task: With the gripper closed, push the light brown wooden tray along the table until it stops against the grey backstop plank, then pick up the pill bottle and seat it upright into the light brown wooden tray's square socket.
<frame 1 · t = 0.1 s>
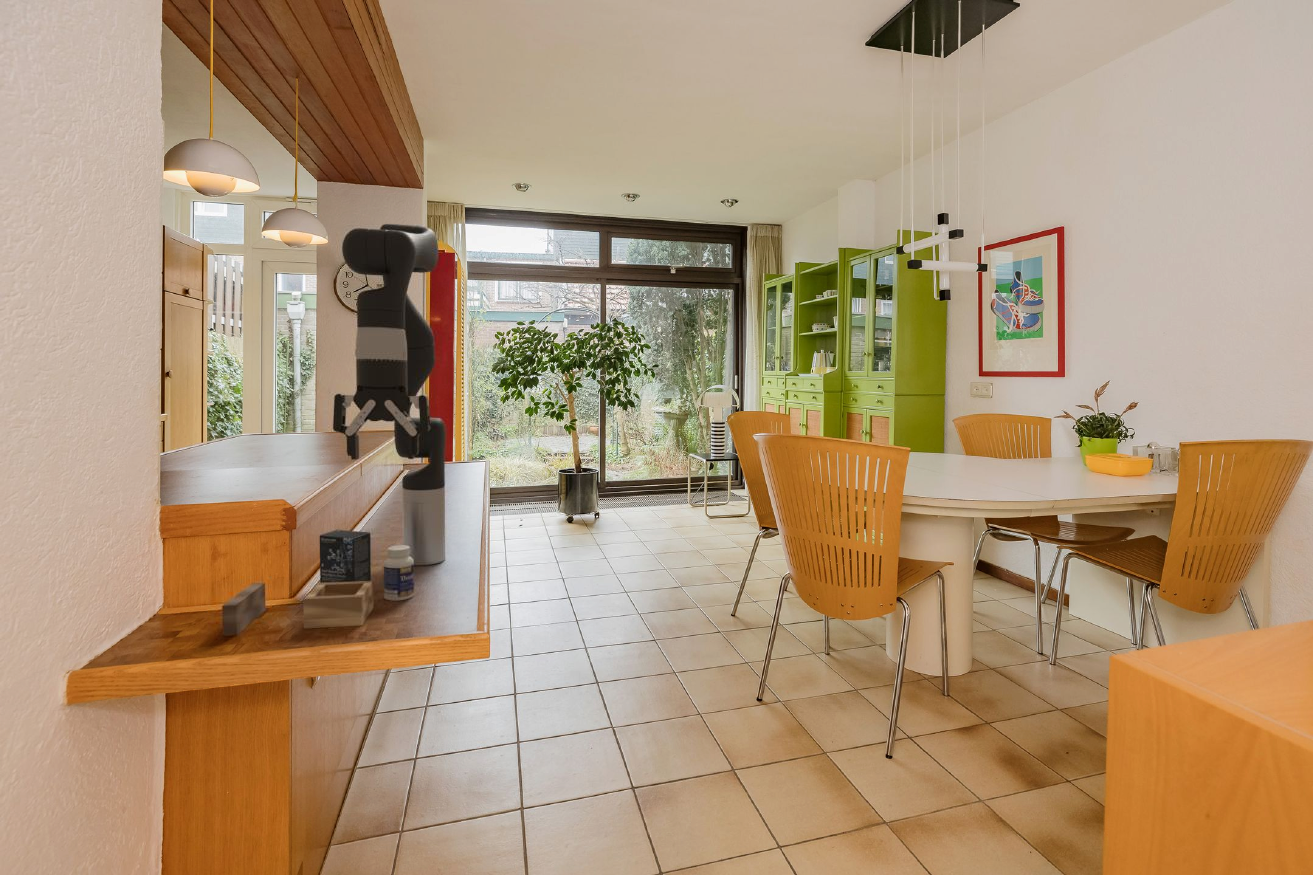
hand: (383, 458, 104), 29 cm above the worktop, fingers open, 8 cm apart
light brown wooden tray: (340, 603, 113), point 3 cm above the worktop, slide at 0.0 cm
box: (346, 585, 132), on the worktop
backstop plank: (245, 622, 110), on the worktop
pill bottle: (399, 597, 124), on the worktop
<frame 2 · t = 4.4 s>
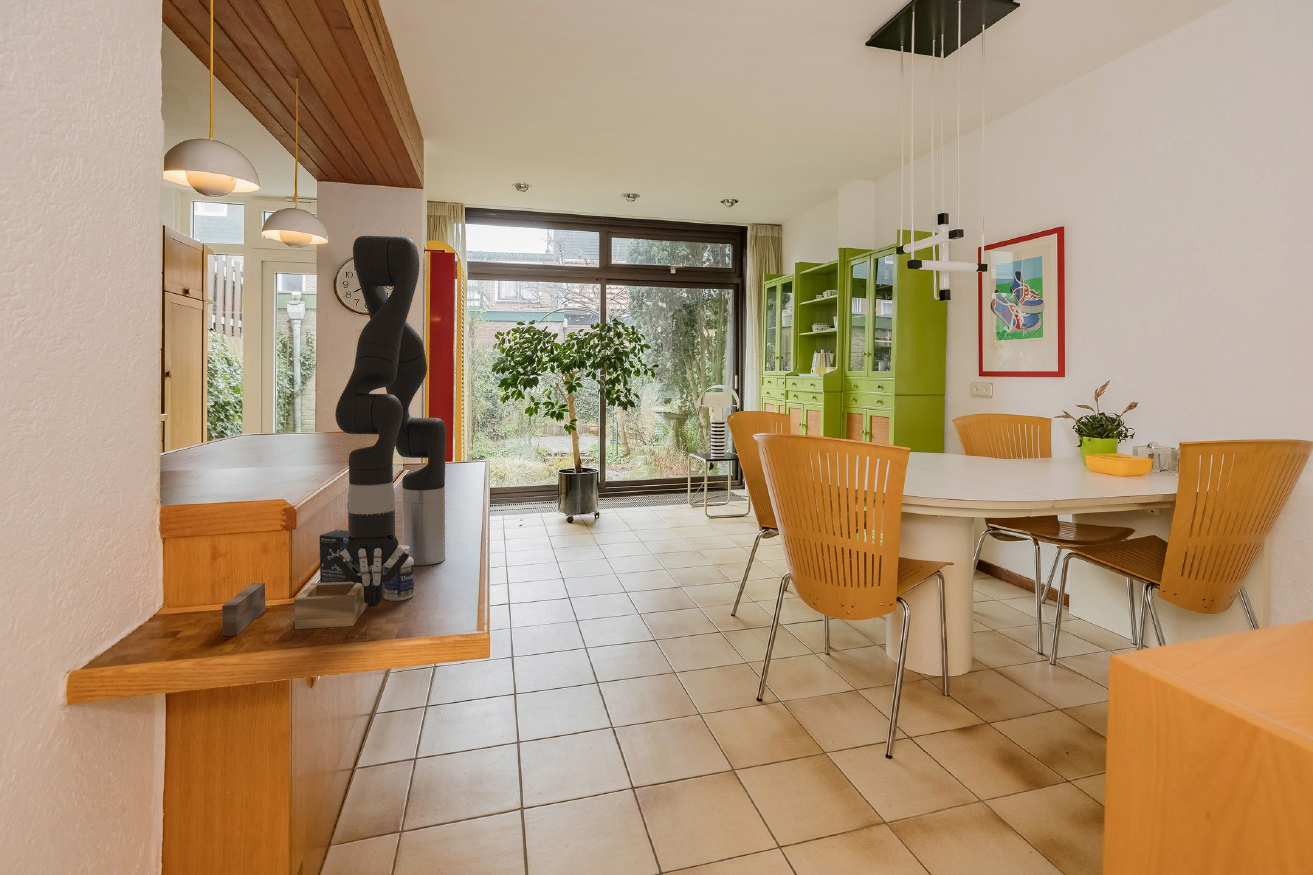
hand: (373, 604, 114), 2 cm above the worktop, fingers closed
light brown wooden tray: (331, 603, 112), point 2 cm above the worktop, slide at 1.4 cm, touching gripper
everything else where it was.
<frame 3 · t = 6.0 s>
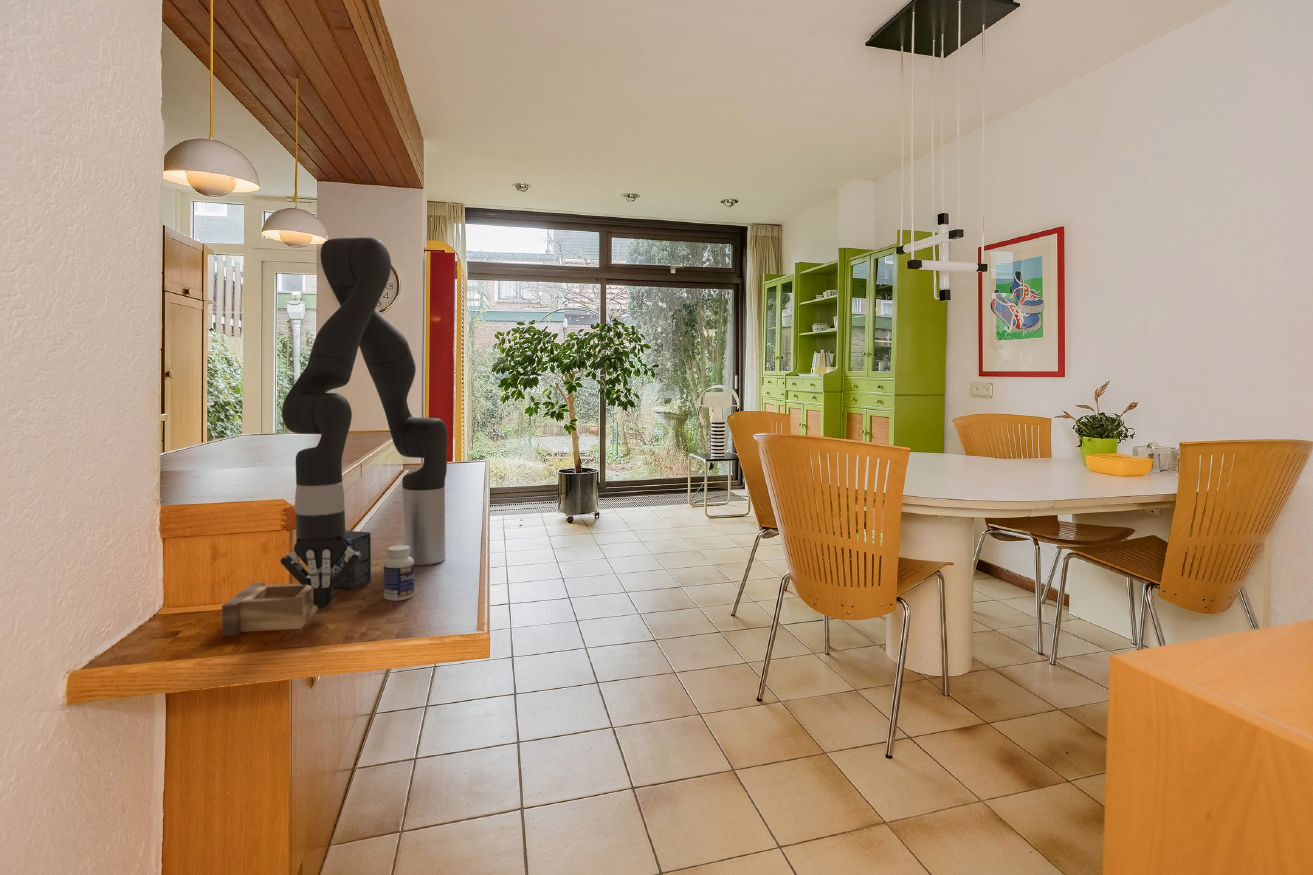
hand: (323, 606, 112), 2 cm above the worktop, fingers closed
light brown wooden tray: (280, 606, 111), point 3 cm above the worktop, slide at 9.5 cm, touching backstop plank, gripper
everything else where it was.
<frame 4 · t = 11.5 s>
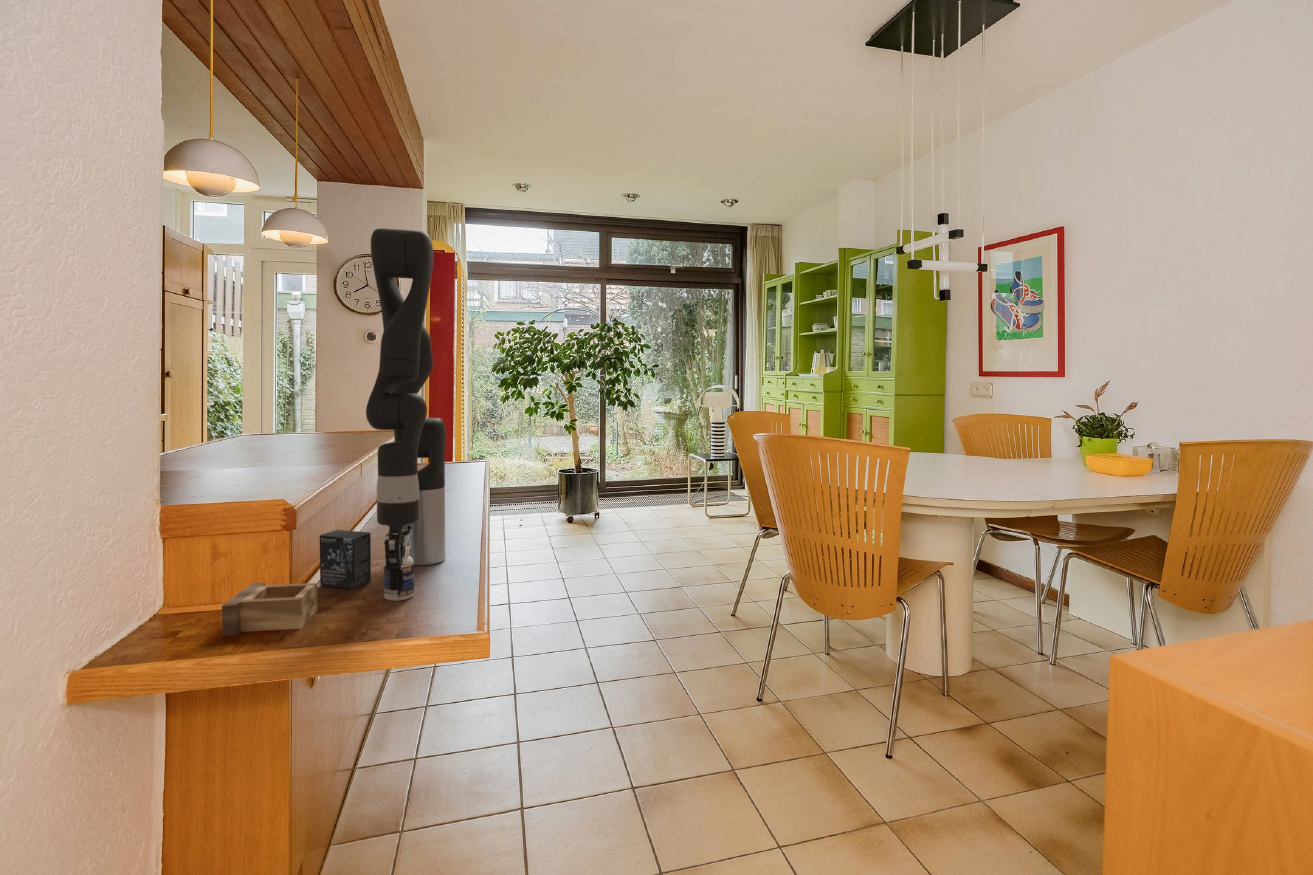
hand: (399, 584, 124), 3 cm above the worktop, fingers closed on pill bottle, 5 cm apart
light brown wooden tray: (280, 606, 111), point 3 cm above the worktop, slide at 9.5 cm, touching backstop plank
pill bottle: (399, 597, 124), on the worktop, touching gripper
everything else where it was.
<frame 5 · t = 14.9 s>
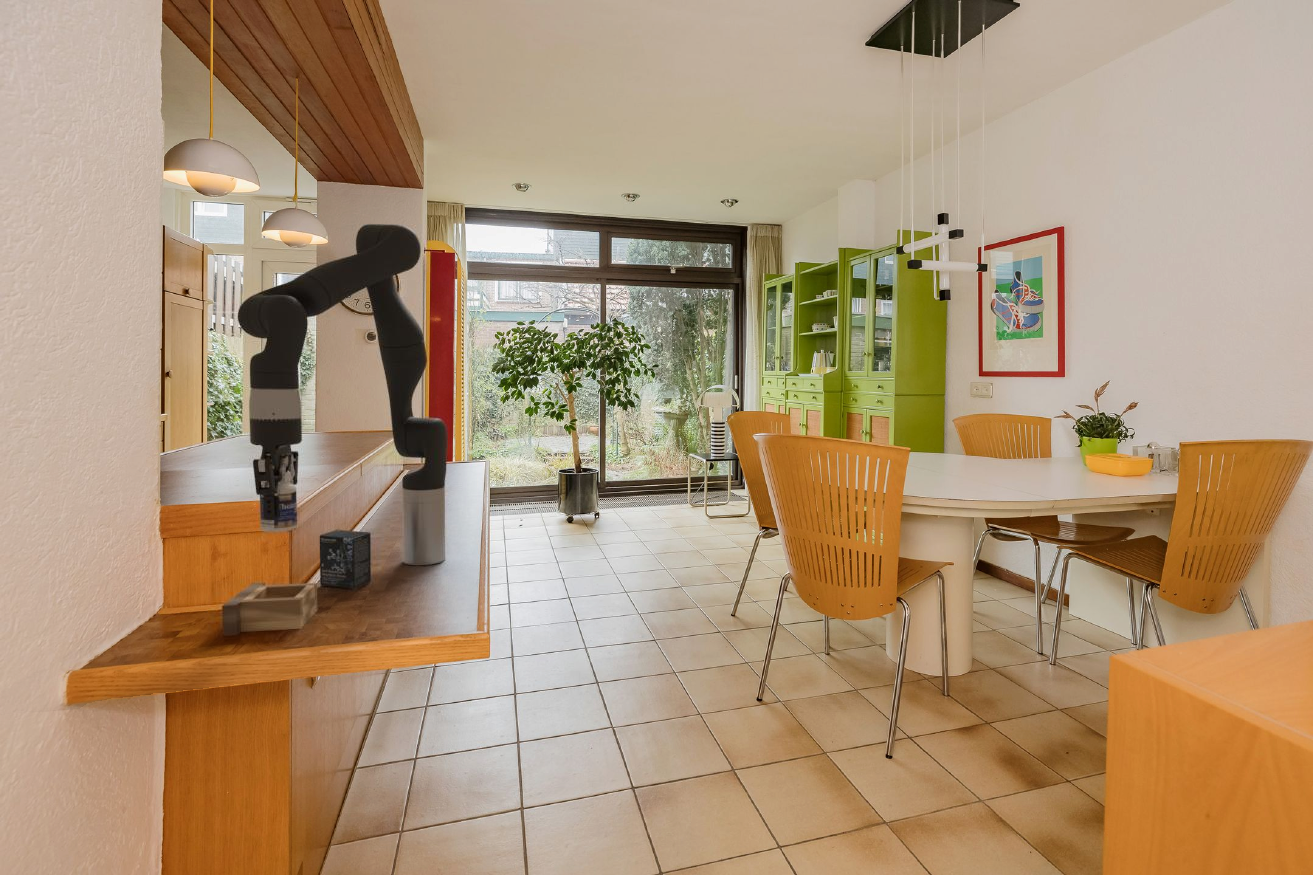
hand: (278, 514, 110), 18 cm above the worktop, fingers closed on pill bottle, 5 cm apart
pill bottle: (279, 530, 110), point 16 cm above the worktop, touching gripper
everything else where it was.
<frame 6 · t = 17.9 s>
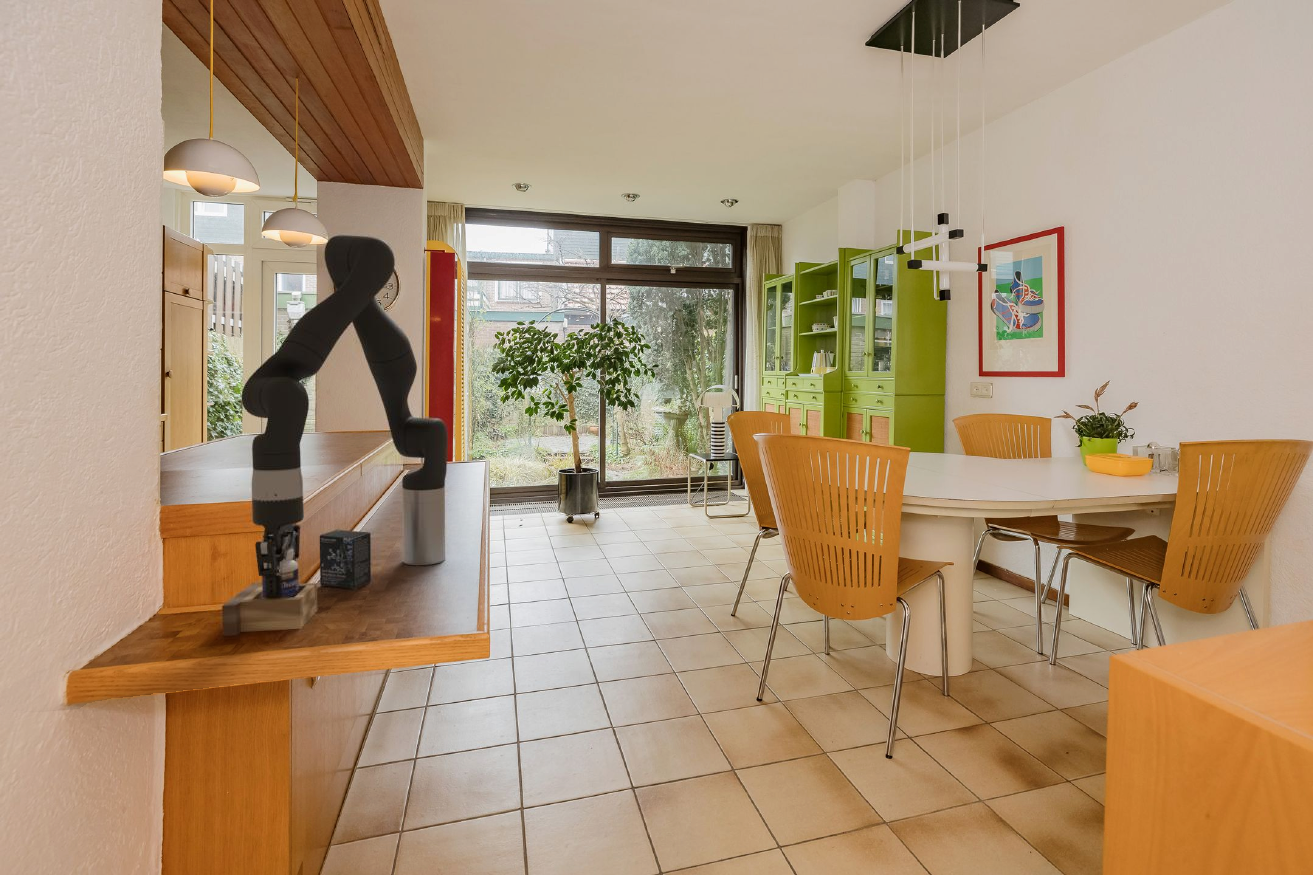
hand: (280, 591, 111), 5 cm above the worktop, fingers closed on pill bottle, 5 cm apart
light brown wooden tray: (280, 606, 111), point 3 cm above the worktop, slide at 9.5 cm, touching backstop plank, gripper
pill bottle: (281, 607, 111), point 2 cm above the worktop, touching gripper
everything else where it was.
when the fingers open (5 cm above the worktop, at t = 18.3 s): pill bottle drops 1 cm, resting on light brown wooden tray.
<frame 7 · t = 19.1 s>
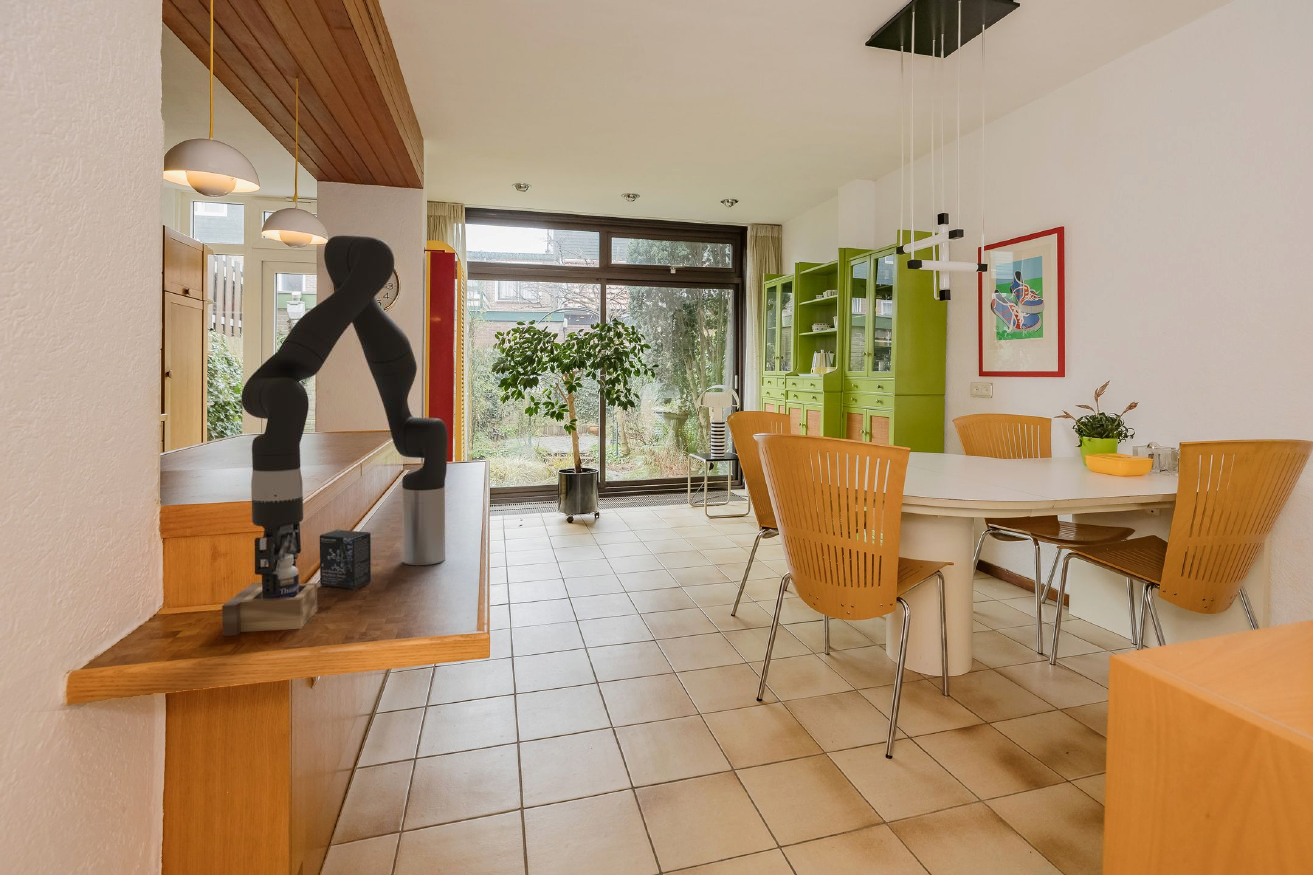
hand: (280, 588, 111), 6 cm above the worktop, fingers open, 8 cm apart
light brown wooden tray: (280, 606, 111), point 3 cm above the worktop, slide at 9.5 cm, touching pill bottle
pill bottle: (281, 612, 111), point 1 cm above the worktop, touching light brown wooden tray
everything else where it was.
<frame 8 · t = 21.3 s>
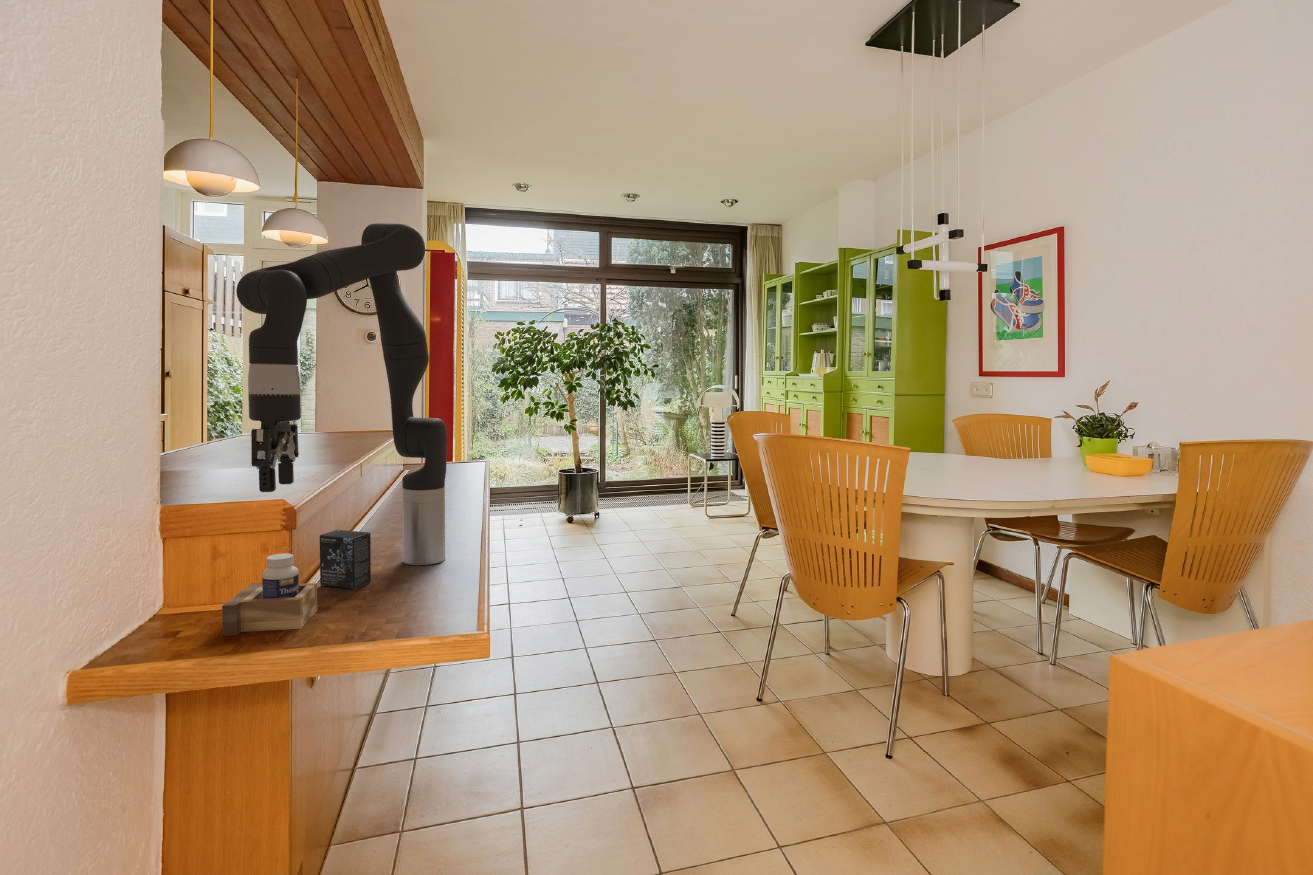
hand: (277, 487, 109), 23 cm above the worktop, fingers open, 8 cm apart
nothing on the worktop moved.
at the end: light brown wooden tray slide at 9.5 cm; pill bottle 0.1 cm off-centre on the light brown wooden tray, point 1.3 cm above the light brown wooden tray's base; pill bottle tilted 0° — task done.
